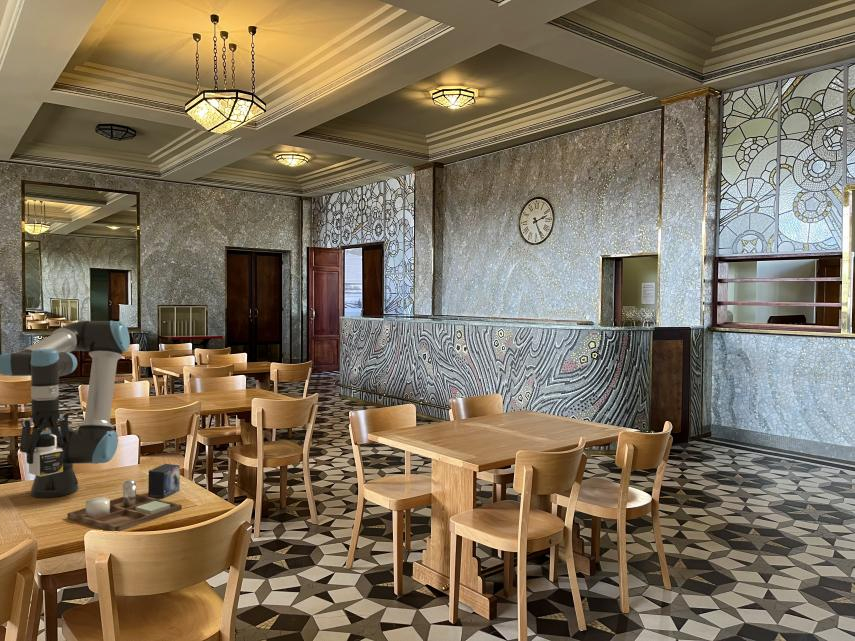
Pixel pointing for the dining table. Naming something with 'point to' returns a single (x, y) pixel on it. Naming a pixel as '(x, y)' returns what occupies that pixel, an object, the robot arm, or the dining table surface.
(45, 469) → the medicine bottle
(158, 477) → the small box
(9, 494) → the dining table surface
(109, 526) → the caddy
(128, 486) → the metal shaker
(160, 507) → the napkin stack
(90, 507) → the silver rounded block
